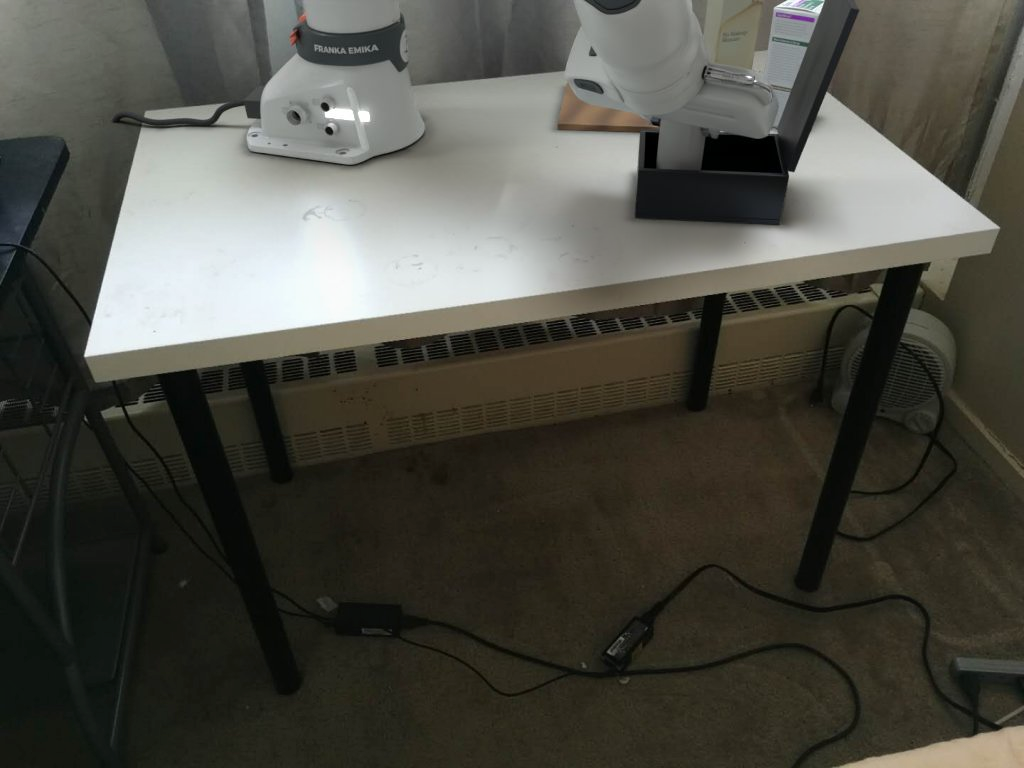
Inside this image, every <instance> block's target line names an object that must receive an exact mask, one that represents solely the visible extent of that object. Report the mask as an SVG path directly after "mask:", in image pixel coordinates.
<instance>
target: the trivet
mask: <svg viewBox="0 0 1024 768" xmlns="http://www.w3.org/2000/svg"><path fill="white" fill-rule="evenodd" d="M556 126H557V127H556V128H557V130H562V131H563V130H564V131H565V130H567V131H595V132H596V131H597V132H625V133H626V132H627V133H640V130H641V129H643V130H660V127H658V126H653V125H649V124H648V122H647V121H646V119H644V118H642V117H641V116H639V115H637V114H635V113H631V112H626V111H621V110H616V109H611V108H607V107H602V106H597V105H591V104H588V103H586V102H584V101H582V100H580V99H579V98H578V97H577V96H576V95H575V93H574V92H573V91H572V89H571V87H570V85H569V83H568V82H567V81H566V85H565V89H564V93H563V98H562V102H561V106H560V110H559V115H558V120H557V125H556Z"/></svg>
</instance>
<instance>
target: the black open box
mask: <svg viewBox="0 0 1024 768" xmlns="http://www.w3.org/2000/svg"><path fill="white" fill-rule="evenodd" d="M659 132H660V130H643V129H641V130H640V132H639V138H638V139H639V140H638V141H639V142H638V153H637V168H636V182H635V183H636V184H635V201H634V219H640V220H667V221H686V222H687V221H688V222H709V223H711V222H712V223H729V224H730V223H732V224H735V223H736V224H752V225H753V224H757V225H775V226H776V225H777V226H779V225H781V219H782V215H783V210H784V206H785V200H786V196H787V190H788V185H789V181H790V173H789V171H787V170H786V165H785V161H784V157H783V153H782V149H781V144H780V140H779V136H778V133H769V135H768V136H766V137H764V138H760V139H756V138H751V137H747V136H742V135H737V134H732V133H727V132H722V131H720V133H719V136H718V138H717V139H715V138H710V137H706V136H705V143H704V150H703V157H702V165H701V170H677V169H656V162H657V152H658V142H659Z"/></svg>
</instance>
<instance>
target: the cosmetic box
mask: <svg viewBox="0 0 1024 768" xmlns="http://www.w3.org/2000/svg"><path fill="white" fill-rule="evenodd" d="M763 2H764V0H707V3H706V11H705V19H704V28H703V38H704V41H705V44H706V47H707V50H708V54H709V62H712V63H717V64H723V65H729V66H734V67H740V68H746V69H750V70H753V65H754V59H755V51H756V46H757V41H758V40H757V39H758V33H759V27H760V21H761V15H762V8H763Z"/></svg>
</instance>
